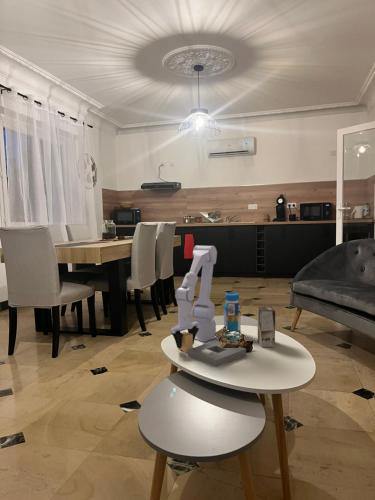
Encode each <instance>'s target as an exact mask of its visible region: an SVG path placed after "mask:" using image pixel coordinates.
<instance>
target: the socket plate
mask: <svg viewBox="0 0 375 500" xmlns="http://www.w3.org/2000/svg"><path fill="white" fill-rule="evenodd" d="M246 355H247V348H245V347H242V346H239V347H238V348H223V347H221V345H220V343H219V339H215V340H213V341H212V340H211V341H210V342H207V343H204V344H201V345H198V346H195V347H193V348H191V349H188V352H187V356H188V357H191V358H193V359H195V360H198V361H200V362H203V363H205V364H209V365H211V366H213V367H216V368H217V367H220V366H222V365H225V364H227V363H229V362H231V361H234V360H236V359H239V358H241V357H244V356H246Z"/></svg>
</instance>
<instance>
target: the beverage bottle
mask: <svg viewBox="0 0 375 500" xmlns="http://www.w3.org/2000/svg"><path fill="white" fill-rule="evenodd" d="M224 297H225V298H224V299H225V301H226V302H225V304H224V305H223V328H224V327H225V326H226V327H227V330H229V331H236V332H239V333H240V334H241V331H242V330H241V325H242V322H241V321H242V319H241V315H242V311H241V308H242V307H241V304H240V302H239V301H240V294H239V293H238V292H226V293H225V295H224Z"/></svg>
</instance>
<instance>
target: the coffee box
mask: <svg viewBox="0 0 375 500" xmlns="http://www.w3.org/2000/svg"><path fill="white" fill-rule="evenodd" d="M257 342H258V344H259V346H260V348H275V347H276V309H274V308H273V307H272V306H257Z"/></svg>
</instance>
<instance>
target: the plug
mask: <svg viewBox="0 0 375 500" xmlns="http://www.w3.org/2000/svg"><path fill="white" fill-rule="evenodd" d="M181 333H182V334H183V337H182V347H181V349H180V348H177V349H178V350H179V349H180V350H179V351H181V350H182V352H184V351H185V352H184V353H188V349H191V348H194V347H193V346H194V344H193V334H191V333H188V331H183V332H182V331H181Z"/></svg>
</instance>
